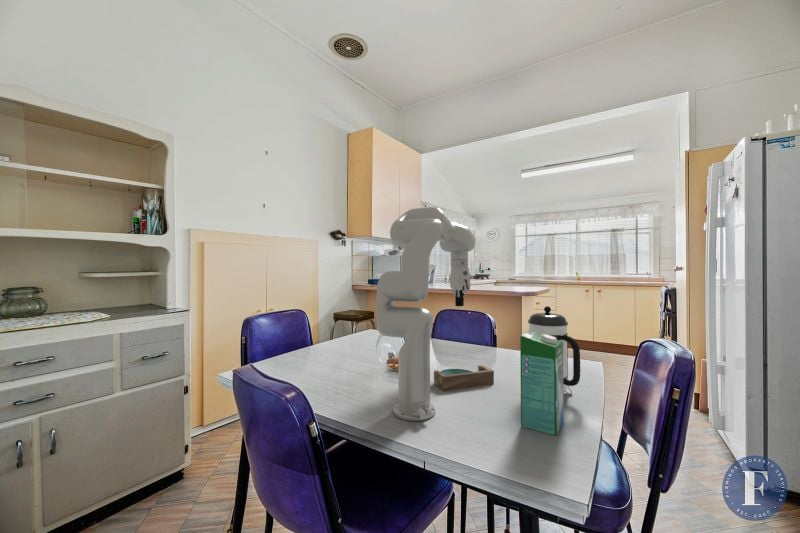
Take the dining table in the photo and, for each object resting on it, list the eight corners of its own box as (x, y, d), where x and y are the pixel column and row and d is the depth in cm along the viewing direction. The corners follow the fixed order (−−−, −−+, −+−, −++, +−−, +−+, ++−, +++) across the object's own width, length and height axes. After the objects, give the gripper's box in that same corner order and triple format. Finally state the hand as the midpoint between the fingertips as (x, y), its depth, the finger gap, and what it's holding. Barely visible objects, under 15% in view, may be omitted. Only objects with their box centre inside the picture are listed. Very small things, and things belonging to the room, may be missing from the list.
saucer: (485, 383, 126) (485, 376, 126) (454, 389, 119) (454, 382, 119) (460, 372, 139) (460, 366, 139) (431, 378, 132) (431, 371, 132)
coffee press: (522, 396, 112) (521, 307, 112) (528, 382, 126) (527, 303, 126) (580, 406, 104) (579, 310, 104) (579, 389, 118) (579, 305, 118)
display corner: (493, 384, 124) (493, 370, 124) (444, 391, 117) (443, 377, 117) (481, 377, 132) (481, 364, 132) (433, 384, 124) (433, 370, 124)
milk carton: (556, 436, 85) (555, 338, 85) (520, 426, 91) (520, 334, 91) (563, 423, 92) (563, 333, 93) (530, 414, 98) (529, 329, 98)
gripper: (476, 263, 139) (476, 307, 139) (458, 264, 153) (458, 304, 153) (460, 263, 136) (461, 308, 136) (443, 264, 150) (443, 304, 150)
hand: (459, 306), depth 144 cm, fingers closed
